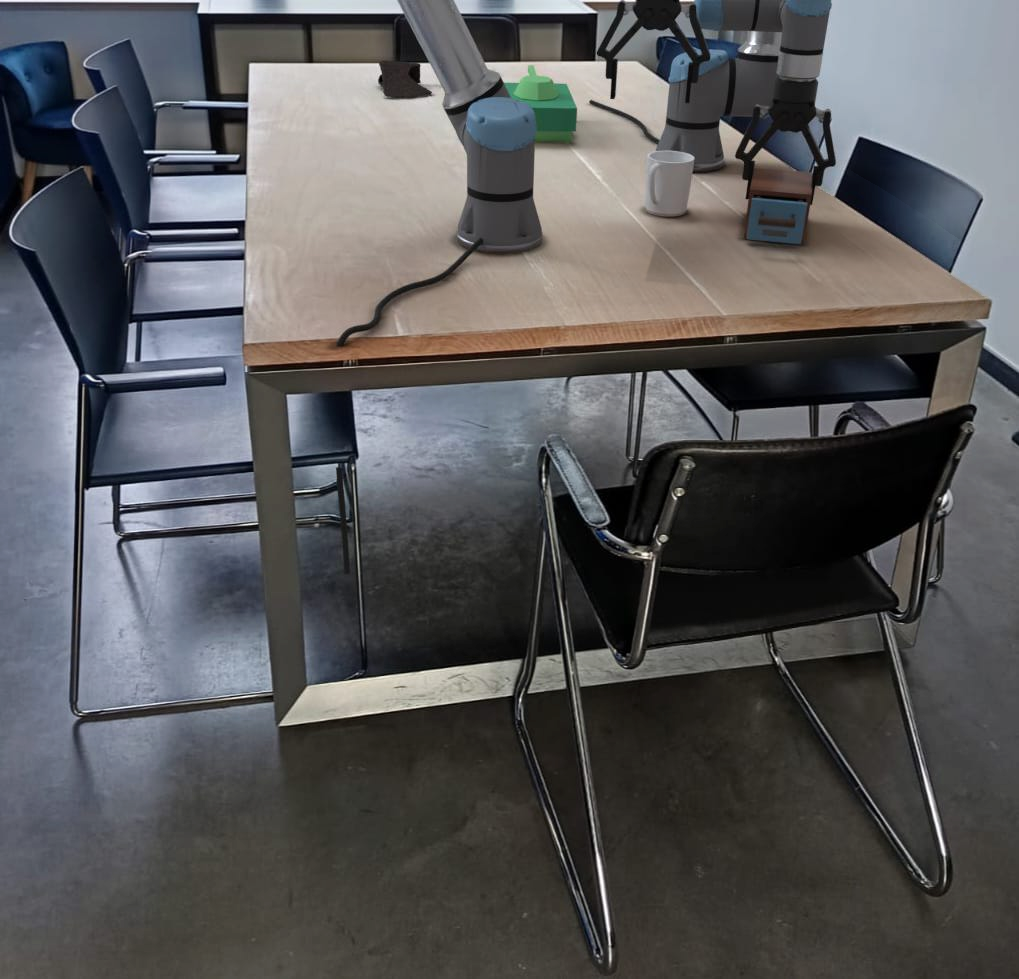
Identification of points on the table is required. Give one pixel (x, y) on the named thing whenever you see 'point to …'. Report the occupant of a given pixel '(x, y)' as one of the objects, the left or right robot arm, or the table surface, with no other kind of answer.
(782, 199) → the drawer
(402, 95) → the axe head
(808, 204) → the cabinet
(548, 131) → the toy tank
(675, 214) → the mug
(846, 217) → the table surface
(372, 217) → the table surface
